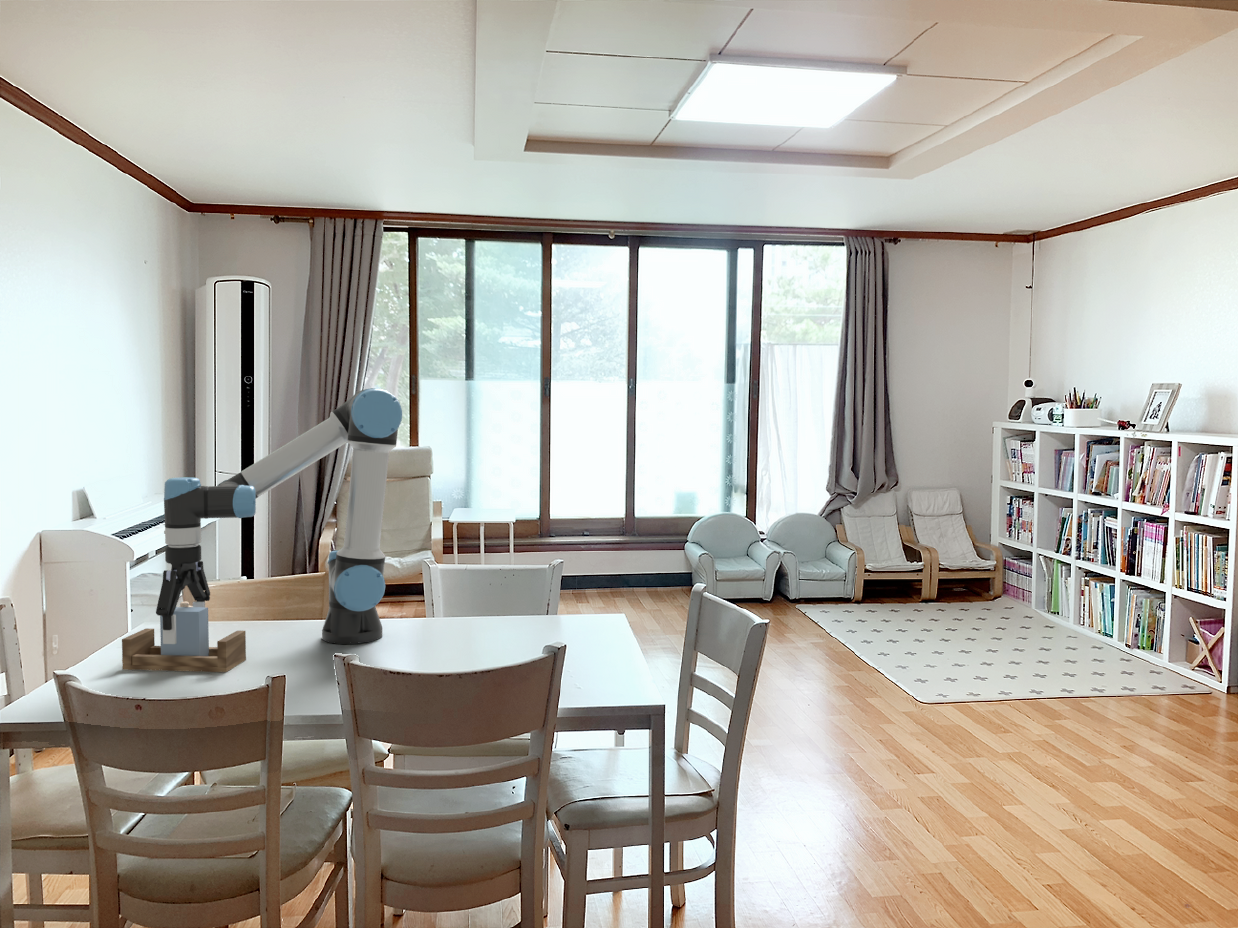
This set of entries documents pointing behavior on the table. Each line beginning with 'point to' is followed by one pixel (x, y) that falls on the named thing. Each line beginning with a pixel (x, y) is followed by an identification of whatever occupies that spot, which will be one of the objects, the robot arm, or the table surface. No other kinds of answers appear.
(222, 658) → the track
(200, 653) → the blue box with knob
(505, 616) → the table surface
